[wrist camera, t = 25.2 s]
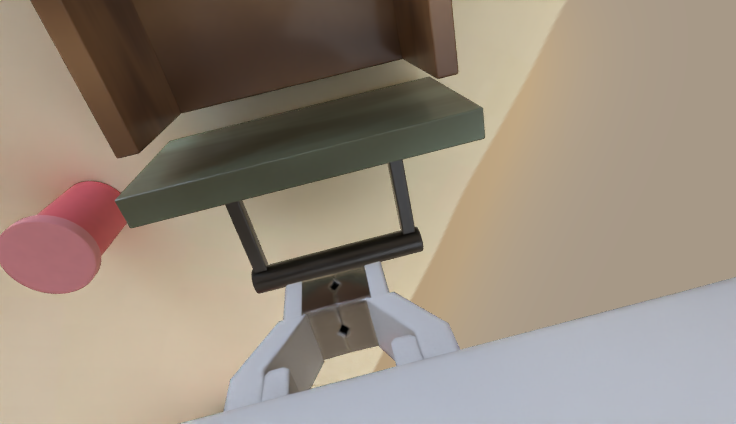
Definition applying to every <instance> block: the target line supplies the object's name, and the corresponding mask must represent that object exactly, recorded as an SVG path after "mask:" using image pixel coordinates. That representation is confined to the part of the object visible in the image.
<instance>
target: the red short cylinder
mask: <svg viewBox="0 0 736 424" xmlns="http://www.w3.org/2000/svg"><path fill="white" fill-rule="evenodd" d="M120 194H121V193H120V192H118V191H117V190H116V189H114V188H113V187H111V186H109V185H107V184H104V183H101V182H95V181H85V182H80V183H77V184H75V185H73V186H72V187H70V188H69V189H68V190H67V191H65V192H64V193H63V194H62V195H60V196H59V197H58V198H57V199H55V200H54V201H53V202H52V203H51V204H49V205H48V206H47V207H46V208H44V209H43V210H42V211H41V212H40V213H38V214H37V215H35V216H29V217H25V218H22V219H20V220H18V221H16V222H15V223H13V224H12V225H11V226H10V227H8V228H7V229H6V230H5V231H4V232H3V233H2V234H1V235H0V264H1V266H2V268H3V269H4V270H5V271H6V273H7V274H8V275H9V276H11V277H12V278H13V279H14V280H16V281H17V282H18V283H20V284H22V285H24V286H26V287H28V288H30V289H33V290H36V291H40V292H44V293H51V294H63V293H70V292H73V291H77V290H79V289H81V288H83V287H84V286H86V285H87V284H88V283H90V282H91V280H92V279H93V278H94V276H95V275H96V274H97V272H98V271H99V269H100V266H101V256H102V254H103V253H104V252H105V251H106V249H107V248H108V247H109V245H110V244H111V243H112V242H113V240H114V239H115V238H116V236H117V235H118V234H119V233H120V231H121V230H122V229H123V227H124V226H125V225H126V224H127V222H126V220H125V218H124V217H123V215H122V213H121V211H120V210H119V208H118V206H117V205H116V203H115V199H116V198H117V197H118V196H119V195H120Z"/></svg>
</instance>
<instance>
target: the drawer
mask: <svg viewBox="0 0 736 424" xmlns="http://www.w3.org/2000/svg"><path fill="white" fill-rule="evenodd" d="M30 1H31V3H32V4H33V6H34V8H35V10H36V12H37V14H38V15H39V17H40V19H41V21H42V23H43V25H44V26H45V28H46V30H47V32H48V34H49V35H50V37H51V39H52V41H53V43H54V45H55V46H56V48H57V50H58V52H59V54H60V56H61V57H62V59H63V61H64V63H65V65H66V66H67V68H68V70H69V72H70V74H71V76H72V77H73V79H74V81H75V83H76V85H77V87H78V88H79V90H80V92H81V94H82V96H83V97H84V99H85V101H86V103H87V105H88V107H89V108H90V110H91V112H92V114H93V116H94V118H95V119H96V121H97V123H98V125H99V127H100V128H101V130H102V132H103V134H104V136H105V138H106V139H107V141H108V143H109V145H110V147H111V148H112V150H113V152H114V154H115V156H116V158H122V157H126V156H130V155H134V154H138V153H140V152H141V151H142V150H143V149H144V148H145V147H146V146H147V145H148V144H149V143H150V142H152V141H153V140H154V139H155V138H156V137H157V136H158V135H159V134H160V133H161V132H162V131H163V130H164V129H165V128H166V127H167V126H168V125H169V124H171V123H172V122H173V121H174V120H175V119H176V118H177V117H178V116H179V115H180V114H181V113H185V112H189V111H193V110H197V109H201V108H205V107H209V106H213V105H217V104H222V103H226V102H230V101H234V100H238V99H242V98H246V97H250V96H254V95H258V94H262V93H266V92H270V91H274V90H278V89H282V88H287V87H291V86H295V85H299V84H303V83H307V82H311V81H315V80H319V79H323V78H327V77H331V76H335V75H339V74H343V73H347V72H352V71H356V70H360V69H364V68H368V67H372V66H376V65H380V64H384V63H388V62H392V61H396V60H400V59H404V60H405V61H407V62H409V63H411V64H412V65H414V66H416V67H418V68H419V69H421V70H423V71H425V72H426V73H428V74H430V75H432V76H433V77H435V78H437V79H440V78H444V77H448V76H452V75H456V74H458V62H457V51H456V41H455V30H454V20H453V9H452V0H30ZM484 138H485V130H484V116H483V108H482V107H481V106H479V105H477V104H475V103H474V102H472V101H470V100H469V99H467V98H465V97H464V96H462V95H460V94H458V93H457V92H455V91H453V90H452V89H450V88H448V87H447V86H445V85H443V84H441V83H440V82H438V81H436V80H435V79H433V78H431V77H426V78H422V79H418V80H414V81H410V82H406V83H402V84H398V85H394V86H390V87H386V88H381V89H377V90H373V91H369V92H365V93H361V94H357V95H353V96H349V97H345V98H341V99H337V100H333V101H329V102H325V103H321V104H317V105H313V106H309V107H305V108H301V109H297V110H293V111H289V112H285V113H281V114H277V115H273V116H269V117H265V118H261V119H257V120H252V121H248V122H244V123H240V124H236V125H232V126H228V127H224V128H220V129H216V130H212V131H208V132H204V133H200V134H196V135H192V136H188V137H184V138H180V139H176V140H172V141H169V142H168V143H167V144H166V146H165V147H164V148H163V149H162V150H161V151H160V152H159V153H158V154H157V155H156V156H155V157H154V158H153V160H152V161H151V162H150V163H149V164H148V165H147V166H146V167H145V168H144V169H143V170H142V171H141V172H140V173H139V175H138V176H137V177H136V178H135V179H134V180H133V181H132V182H131V183H130V184H129V185H128V186H127V187H126V189H125V190H124V191H123V192H122V193H121V194H120V195H119V196H118V197H117V198H116V199H115V203H116V205H117V206H118V208H119V210H120V211H121V213H122V215H123V217H124V218H125V220H126V222H127V223H128V225H129V227H130V228H135V227H139V226H143V225H146V224H150V223H154V222H158V221H162V220H166V219H170V218H174V217H178V216H182V215H186V214H190V213H194V212H198V211H202V210H205V209H209V208H213V207H217V206H221V205H226V208H227V210H228V212H229V215H230V217H231V219H232V222H233V224H234V226H235V229H236V231H237V233H238V235H239V238H240V240H241V242H242V245H243V247H244V249H245V252H246V254H247V256H248V258H249V261H250V263H251V265H252V268H253V270H252V282H253V286H254V288H255V290H256V292H257V293H259V294H260V293H264V292H268V291H272V290H276V289H279V288H283V287H286V286H287V285H289V284H293V283H297V282H301V281H305V280H309V279H313V278H318V277H322V276H326V275H330V274H336V273H340V272H343V271H347V270H351V269H355V268H358V267H362V266H365V265H368V264H371V263H374V262H378V261H380V262H382V261H386V260H390V259H394V258H398V257H401V256H405V255H409V254H413V253H417V252H421V251H423V242H422V238H421V234H420V232H419V229H418V228H417V227H415V226H414V221H413V215H412V210H411V204H410V198H409V193H408V187H407V182H406V176H405V170H404V165H403V159H406V158H410V157H414V156H418V155H422V154H426V153H430V152H434V151H438V150H441V149H445V148H449V147H453V146H457V145H461V144H465V143H469V142H473V141H477V140H481V139H484ZM386 163H388V168H389V173H390V178H391V183H392V188H393V194H394V199H395V204H396V209H397V214H398V219H399V224H400V229H401V230H400V231H396V232H393V233H389V234H385V235H381V236H377V237H373V238H370V239H366V240H362V241H358V242H354V243H350V244H346V245H343V246H339V247H335V248H331V249H327V250H323V251H320V252H316V253H312V254H308V255H304V256H300V257H296V258H293V259H289V260H285V261H281V262H277V263H273V264H270V265H268V262H267V260H266V257H265V255H264V252H263V250H262V247H261V245H260V242H259V240H258V238H257V235H256V233H255V230H254V228H253V225H252V223H251V220H250V218H249V215H248V213H247V211H246V208H245V206H244V203H243V201H242V200H245V199H249V198H253V197H257V196H261V195H264V194H268V193H272V192H276V191H280V190H284V189H288V188H292V187H296V186H300V185H304V184H308V183H312V182H316V181H320V180H323V179H327V178H331V177H335V176H339V175H343V174H347V173H351V172H355V171H359V170H363V169H367V168H371V167H375V166H379V165H382V164H386Z"/></svg>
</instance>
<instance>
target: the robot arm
mask: <svg viewBox="0 0 736 424" xmlns="http://www.w3.org/2000/svg"><path fill="white" fill-rule="evenodd" d="M375 346H379V347H380V348H381V349H382V350H383V351H385V352H386V353H387V354H388V355H389V356H390V357H391V358H392V359H393V360H394V361H395V362H396V367H392V368H389V369H385V370H381V371H377V372H373V373H369V374H366V375H362V376H358V377H354V378H350V379H347V380H343V381H339V382H335V383H331V384H328V385H324V386H320V387H316V388H312V389H311V387H312V385H313V383H314V381H315V379H316V377H317V375H318V373H319V371H320V369H321V367H322V365H323V363H324V360H325V359H329V358H332V357H336V356H339V355H343V354H346V353H350V352H353V351H358V350H362V349H366V348H371V347H375ZM179 424H736V277H734V278H731V279H727V280H723V281H719V282H716V283H712V284H708V285H705V286H700V287H697V288H693V289H689V290H686V291H682V292H678V293H674V294H670V295H667V296H663V297H659V298H656V299H651V300H648V301H644V302H640V303H636V304H632V305H629V306H625V307H621V308H617V309H613V310H609V311H605V312H602V313H598V314H594V315H590V316H586V317H583V318H579V319H575V320H571V321H567V322H564V323H560V324H556V325H552V326H548V327H545V328H541V329H537V330H534V331H530V332H525V333H522V334H518V335H514V336H511V337H507V338H503V339H499V340H495V341H492V342H488V343H484V344H480V345H476V346H472V347H468V348H465V349H461V350H460V348H459V346H458V343H457V341H456V339H455V337H454V334H453V332H452V330H451V328H450V325H449V323H447V322H445V321H443V320H442V319H440V318H438V317H437V316H435V315H433V314H432V313H430V312H428V311H426V310H425V309H423V308H421V307H419V306H418V305H416V304H414V303H412V302H411V301H409V300H407V299H406V298H404V297H402V296H400V295H399V294H397V293H395V292H391V293H389V289H388V286H387V282H386V279H385V275H384V272H383V268H382V265H381V262H380V261H378V262H374V263H371V264H368V265H365V267H364V266H362V267H358V268H355V269H351V270H347V271H343V272H340V273H336V274H330V275H326V276H322V277H318V278H313V279H309V280H305V281H301V282H297V283H293V284H289V285H287V286H286V289H285V303H284V316H283V321H279V322H278V323H277V324H276V325H275V327H274V328H273V329H272V330H271V331H270V333H269V334H268V335H267V336H266V337H265V339H264V340H263V341H262V342H261V343H260V345H259V346H258V347H257V348H256V349H255V351H254V352H253V353H252V354H251V355H250V357H249V358H248V359H247V360H246V361H245V363H244V364H243V365H242V366H241V367H240V369H239V370H238V371H237V372H236V373H235V375H234V376H233V377H232V378H231V379H230V383H229V388H228V392H227V397H226V402H225V407H224V412H221V413H217V414H213V415H209V416H205V417H202V418H198V419H194V420H190V421H186V422H183V423H179Z"/></svg>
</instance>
